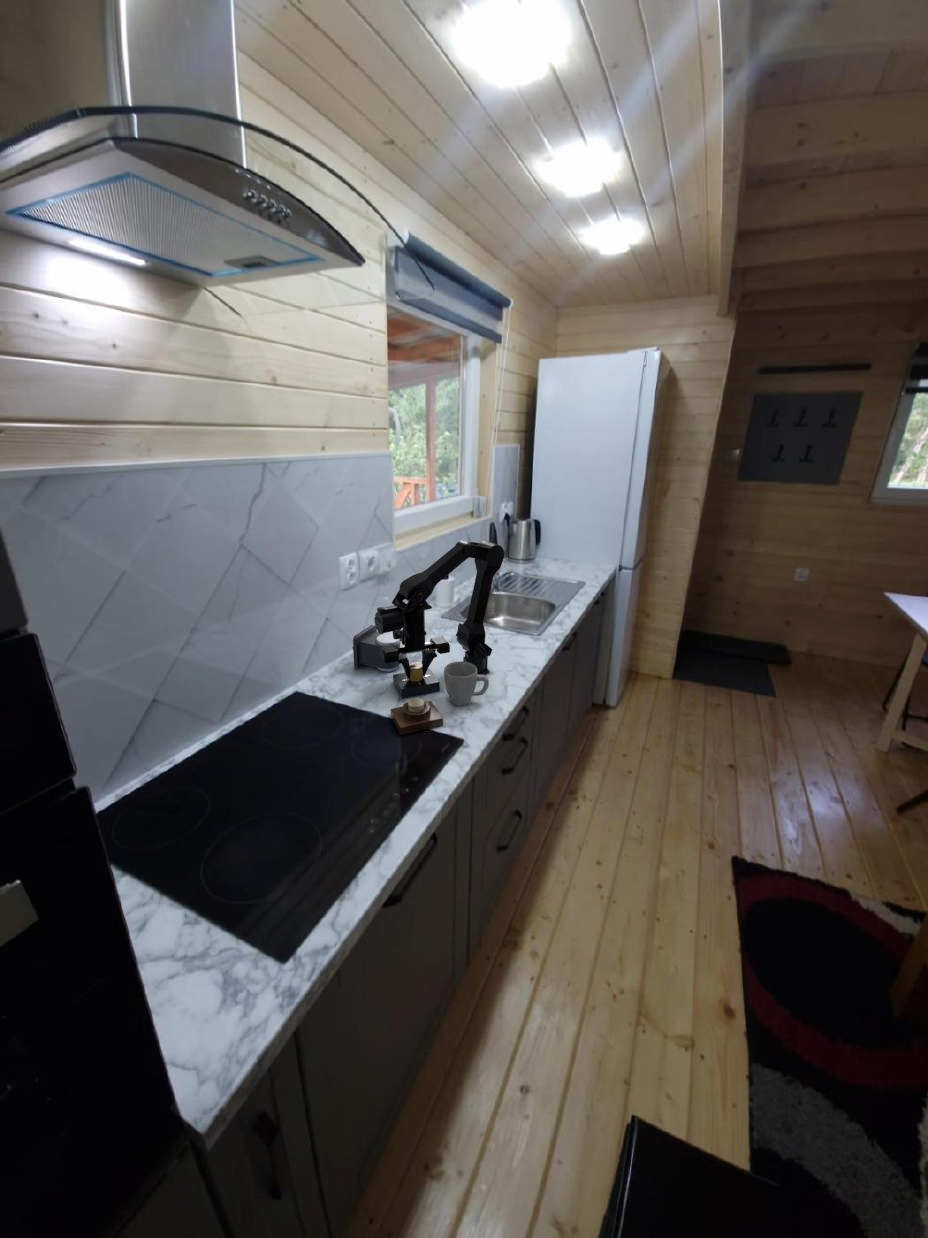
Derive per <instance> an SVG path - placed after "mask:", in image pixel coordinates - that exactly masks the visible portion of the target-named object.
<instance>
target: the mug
mask: <svg viewBox="0 0 928 1238" xmlns="http://www.w3.org/2000/svg"><path fill="white" fill-rule="evenodd" d="M443 677H444V687H445V690H446V692H447V696H448V697H449V699H450V702H451V703H452V704H453V705H456V706H466V705H468V704H470V702H471V699H472V697H478V696H479V697H480V696H483V695H484V694H485V693H486V692H487V690H488V688H489V686H490V681H489V678H488V676H487V675H486V674H482V675H478V674H477V668H476V666H475V665H473V664H471V663H468V662H463V661H452V662H450V663H448V664H446V665H445V666H444V669H443ZM477 682H483V686H482V689H480V690H478V691H475V690H476V687H477Z"/></svg>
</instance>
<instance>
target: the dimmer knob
mask: <svg viewBox="0 0 928 1238" xmlns="http://www.w3.org/2000/svg"><path fill="white" fill-rule="evenodd" d="M409 669H410V679H409V680H411V681H415V682H416V681H421V680H422V679H423V665H422V662H416V661H415V662H411V663H410V662H409Z"/></svg>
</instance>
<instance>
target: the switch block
mask: <svg viewBox="0 0 928 1238" xmlns="http://www.w3.org/2000/svg"><path fill="white" fill-rule="evenodd" d="M409 701H410V700H408V701H407V702H405V703H404V704H403V705H402V706H397V707H393V708H390V717H391V720H392V721H393V723H394V725H395V727H396V728H397V731H398V733H399V735H400V736H403V735H407V734H411V733H416V732H421V731H425V730H429V729H434V728H438V727H443V726H444V717H443V716H442V714H441V712H440V711H439V710H438V708H437V707H436V706H435V704H434V702H433V701H432V700H426V701H425V700H423V701H424V710H423V711H421V712H411V711H409V710H408V702H409Z"/></svg>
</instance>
